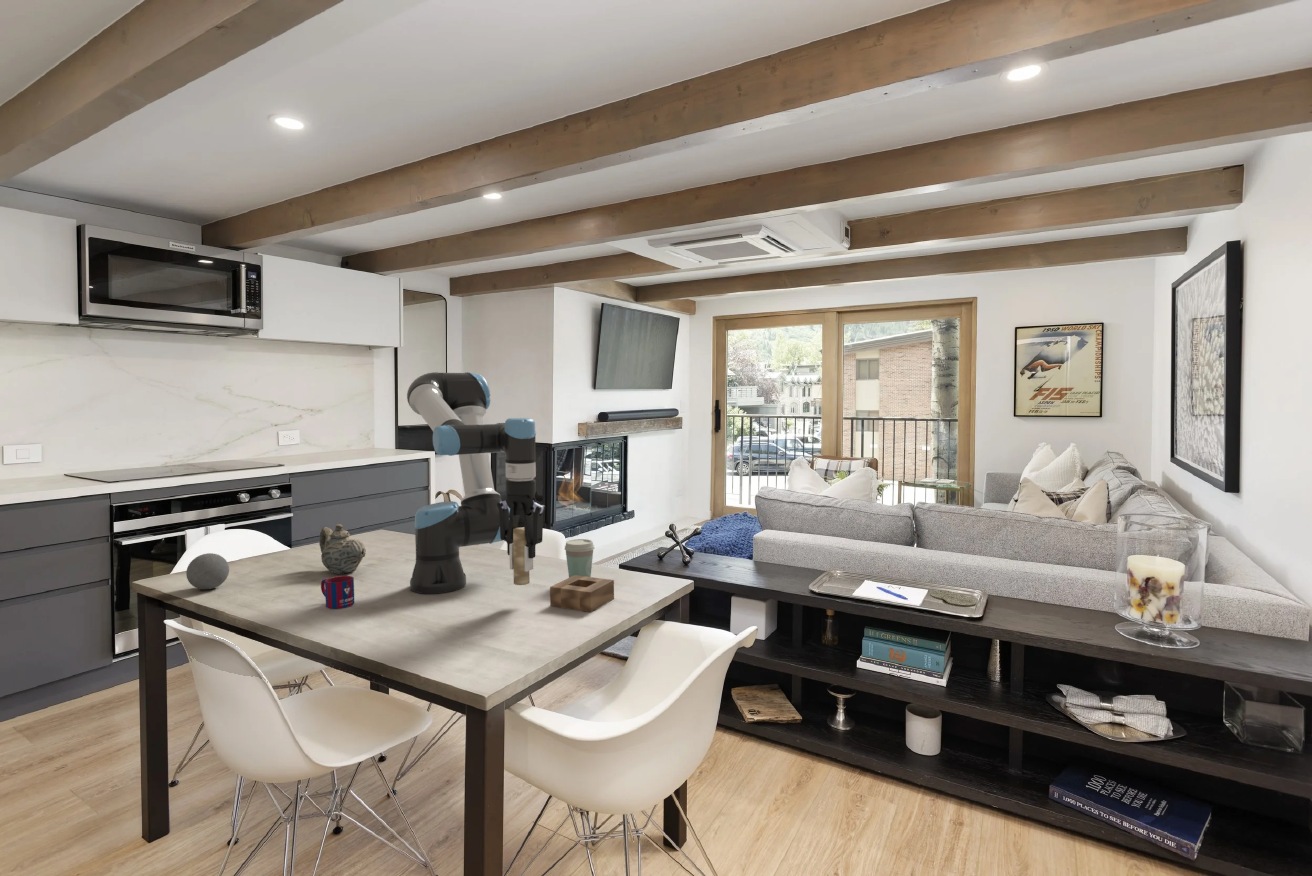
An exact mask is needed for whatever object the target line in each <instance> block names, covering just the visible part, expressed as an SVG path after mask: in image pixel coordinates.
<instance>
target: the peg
mask: <svg viewBox="0 0 1312 876" xmlns="http://www.w3.org/2000/svg"><path fill="white" fill-rule="evenodd" d="M526 544H527V541H526V535H525V530H524V527H518V528H515V529H513V565H514V569H513V584H514V585H516V586H526V585H529V584H530V571H528V572H526V571H525V561H524V546H525V545H526Z"/></svg>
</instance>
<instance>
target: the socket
mask: <svg viewBox="0 0 1312 876" xmlns="http://www.w3.org/2000/svg"><path fill="white" fill-rule="evenodd" d="M549 597H550V598H549V600H550V601H549V603H550V604H549V605H550V607H554V608H561V609H568V610H574V611H582V612H587V613H593V612H595V610H597V609H599V608H601V607H602V606H604V605H606V604H607V603H609V602H611V601H612V600H614V599H615V580H614V579H608V578H601V577H592V576H591V577H586V576H578V575H574V576H572V577H570V578H569V577H568V578H566V579H564V580H562V581H559V582H557V583H555V584H553V585H550V586H549Z"/></svg>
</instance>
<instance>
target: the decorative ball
mask: <svg viewBox="0 0 1312 876" xmlns="http://www.w3.org/2000/svg"><path fill="white" fill-rule="evenodd" d="M186 568H187V569H186V572H185V573H186V579H187V581H188V583H189V584H190V585H192V587H194V588H196V589H199V590H203V591H204V590H213V589H215V588H217V587H220V586H221V585H222V584H224V583H225V581H226V580H227V579H228V576H229V573H230V565H229V563H228V561H227V560H226V559H225V558H224V557H223V556H222V555H220V554H217V553H213V552H212V553H211V552H210V553H209V552H208V553H203V554H200V555H198V556H196V557H194V558H193V559H192V560H191V561H190V562H189V564H188V566H187V567H186Z"/></svg>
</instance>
